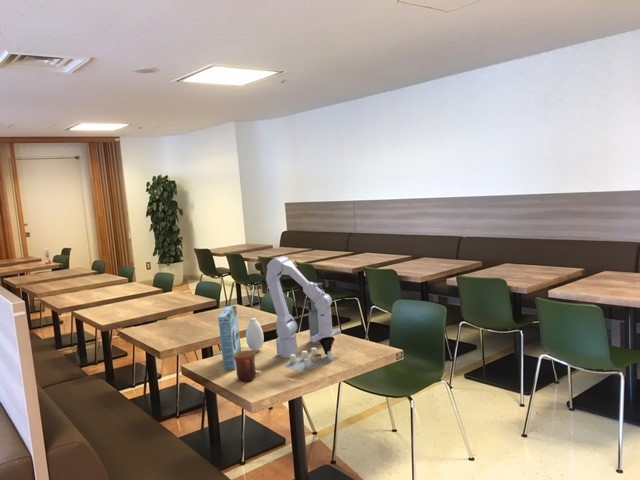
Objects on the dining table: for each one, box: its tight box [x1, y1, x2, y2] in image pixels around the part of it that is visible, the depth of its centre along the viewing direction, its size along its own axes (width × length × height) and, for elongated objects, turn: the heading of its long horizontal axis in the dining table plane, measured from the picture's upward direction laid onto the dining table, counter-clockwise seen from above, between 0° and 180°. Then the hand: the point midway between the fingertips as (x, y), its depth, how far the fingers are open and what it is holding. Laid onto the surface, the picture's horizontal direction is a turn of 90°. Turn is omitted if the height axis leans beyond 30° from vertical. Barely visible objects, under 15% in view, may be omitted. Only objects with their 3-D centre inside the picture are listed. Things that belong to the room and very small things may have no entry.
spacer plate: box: [282, 347, 336, 373], centre depth 215 cm, size 13×18×4 cm
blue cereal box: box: [218, 305, 242, 371], centre depth 224 cm, size 19×5×23 cm, turn 0°
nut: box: [310, 353, 323, 362], centre depth 217 cm, size 5×4×2 cm
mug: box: [233, 349, 257, 383], centre depth 202 cm, size 12×9×10 cm
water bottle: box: [306, 282, 325, 345], centre depth 242 cm, size 10×10×28 cm
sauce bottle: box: [245, 312, 265, 352], centre depth 238 cm, size 8×8×18 cm
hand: (327, 354), depth 220 cm, fingers closed
